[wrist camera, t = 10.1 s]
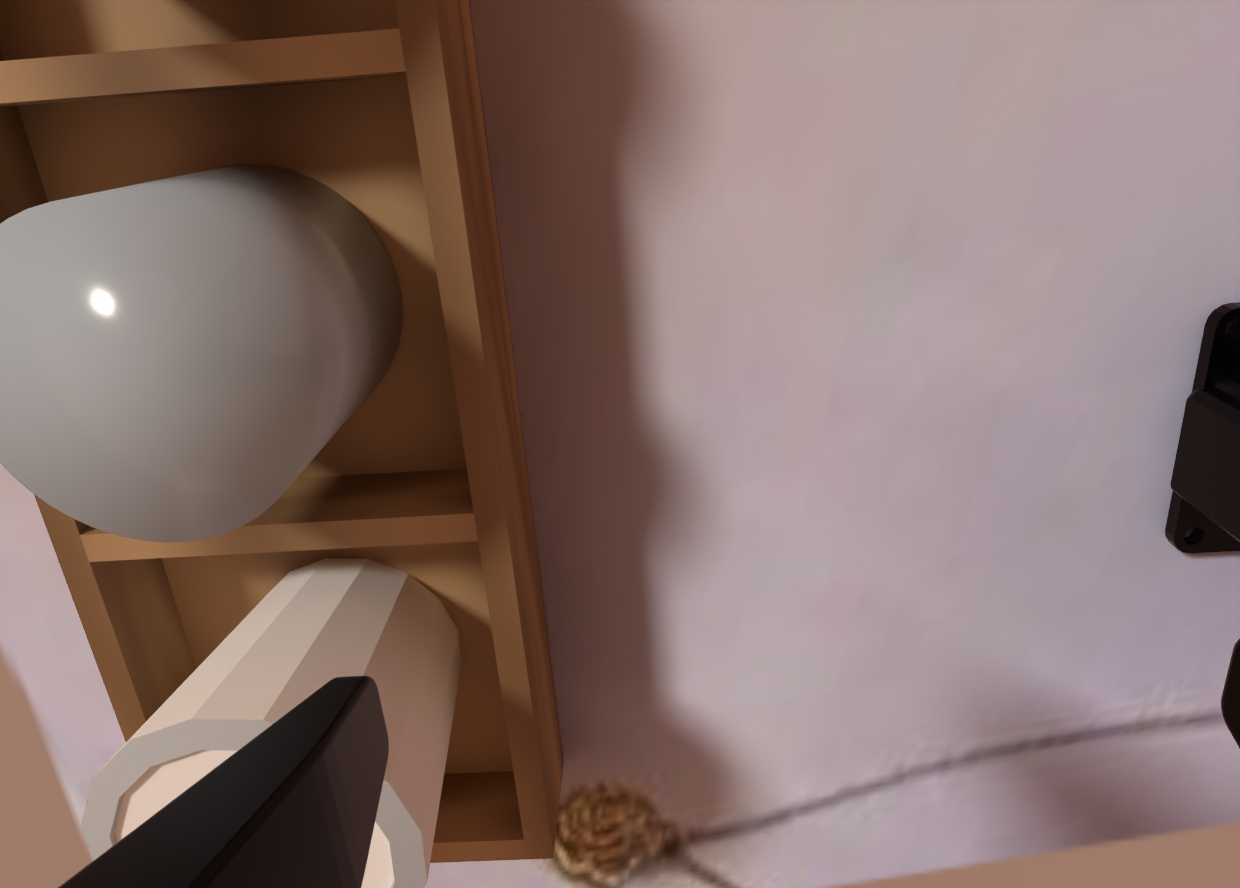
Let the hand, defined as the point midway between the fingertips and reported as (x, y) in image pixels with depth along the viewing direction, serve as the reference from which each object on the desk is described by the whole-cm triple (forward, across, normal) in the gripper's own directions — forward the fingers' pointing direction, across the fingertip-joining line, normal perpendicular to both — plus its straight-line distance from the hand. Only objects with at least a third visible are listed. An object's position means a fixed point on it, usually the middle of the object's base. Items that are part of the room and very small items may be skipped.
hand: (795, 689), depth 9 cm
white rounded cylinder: (+12, +10, -2) cm, 16 cm away
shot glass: (+12, +10, +8) cm, 17 cm away
